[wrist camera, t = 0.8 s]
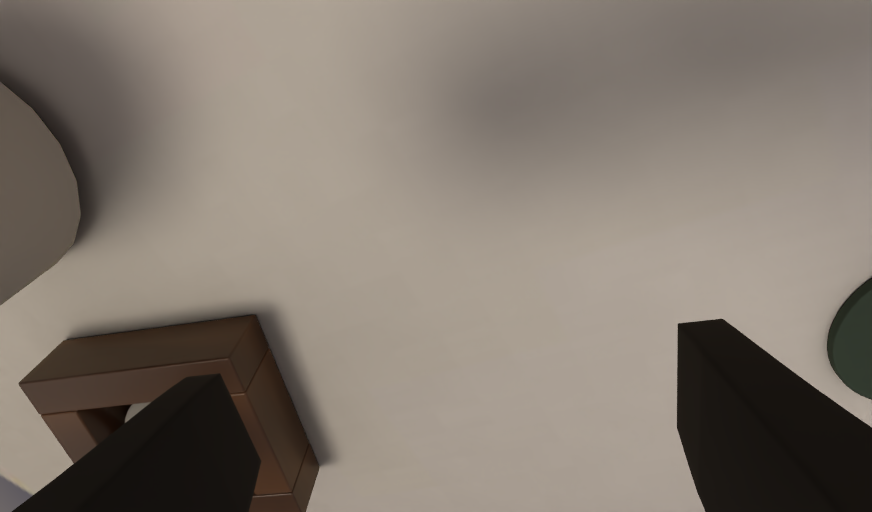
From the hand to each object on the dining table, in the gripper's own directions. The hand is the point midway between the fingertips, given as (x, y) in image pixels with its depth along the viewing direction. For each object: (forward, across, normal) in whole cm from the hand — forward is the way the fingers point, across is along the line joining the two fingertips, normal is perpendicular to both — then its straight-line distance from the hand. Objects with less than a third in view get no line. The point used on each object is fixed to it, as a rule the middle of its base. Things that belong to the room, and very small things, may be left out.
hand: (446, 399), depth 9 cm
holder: (+10, +12, +8) cm, 18 cm away
